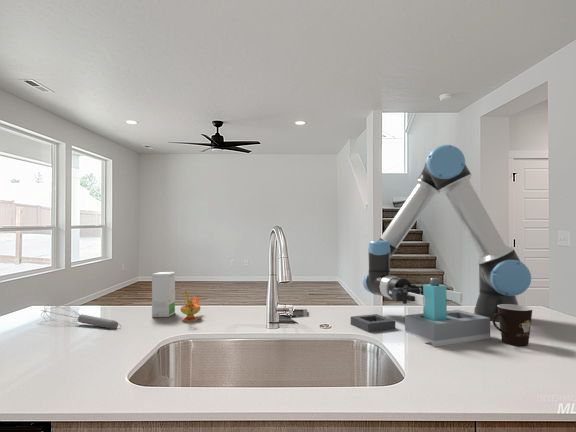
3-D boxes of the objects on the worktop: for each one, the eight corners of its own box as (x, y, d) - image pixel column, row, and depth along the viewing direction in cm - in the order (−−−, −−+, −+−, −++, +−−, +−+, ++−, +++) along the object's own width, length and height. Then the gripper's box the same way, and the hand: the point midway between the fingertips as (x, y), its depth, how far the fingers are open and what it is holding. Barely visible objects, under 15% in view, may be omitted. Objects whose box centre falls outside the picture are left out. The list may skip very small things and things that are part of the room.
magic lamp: (206, 312, 148) (207, 283, 149) (194, 324, 130) (195, 291, 131) (188, 312, 149) (189, 283, 149) (174, 324, 131) (174, 291, 131)
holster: (376, 324, 131) (376, 314, 131) (395, 332, 121) (395, 320, 122) (350, 327, 127) (350, 316, 127) (367, 335, 118) (367, 323, 118)
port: (458, 328, 126) (458, 309, 126) (490, 338, 115) (490, 317, 115) (405, 335, 118) (405, 315, 118) (433, 346, 107) (433, 324, 107)
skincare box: (168, 317, 140) (169, 274, 141) (150, 317, 140) (150, 274, 141) (175, 312, 149) (175, 271, 149) (158, 312, 149) (158, 271, 149)
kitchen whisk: (113, 332, 122) (113, 311, 122) (35, 323, 133) (36, 304, 134) (128, 327, 128) (128, 308, 128) (52, 319, 139) (52, 301, 139)
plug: (435, 330, 118) (435, 277, 118) (446, 334, 113) (446, 279, 114) (423, 332, 116) (423, 277, 116) (434, 336, 112) (434, 279, 112)
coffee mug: (523, 339, 114) (523, 304, 115) (539, 348, 106) (538, 310, 106) (481, 337, 115) (481, 303, 116) (494, 346, 107) (493, 309, 107)
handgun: (272, 313, 151) (268, 324, 133) (272, 307, 151) (268, 318, 133) (307, 313, 150) (307, 325, 132) (307, 308, 150) (307, 319, 132)
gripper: (426, 297, 136) (475, 309, 116) (364, 302, 127) (407, 316, 107) (425, 275, 136) (475, 283, 117) (364, 278, 127) (407, 288, 107)
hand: (443, 299), depth 112 cm, fingers open, 13 cm apart
